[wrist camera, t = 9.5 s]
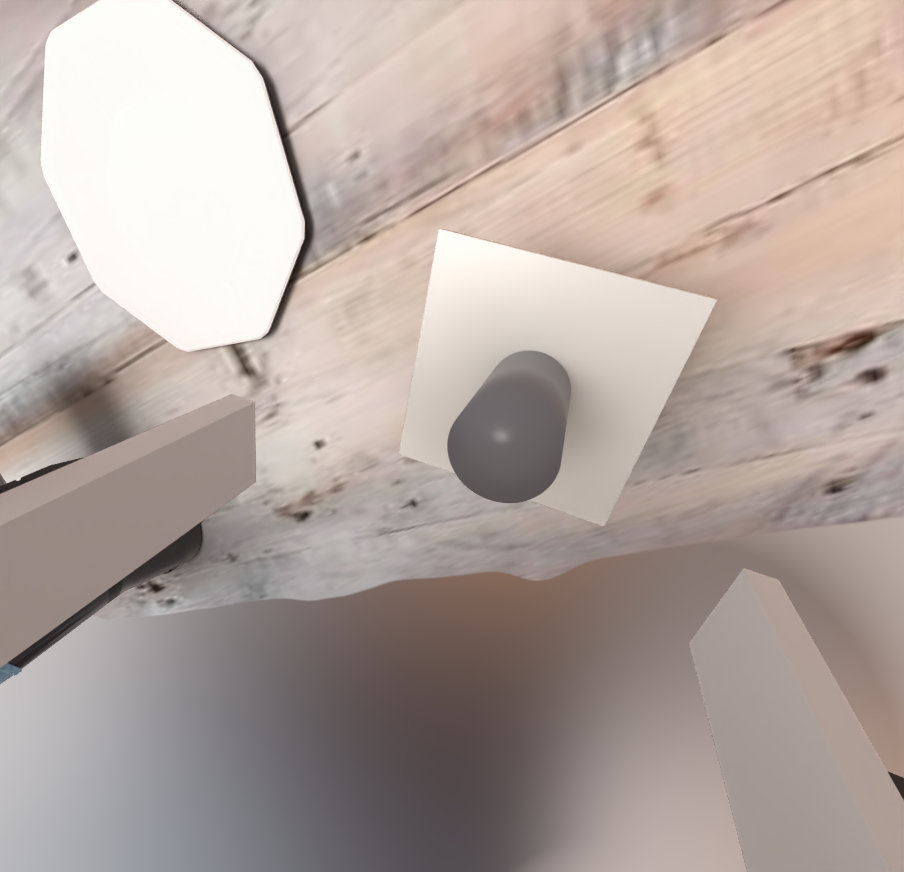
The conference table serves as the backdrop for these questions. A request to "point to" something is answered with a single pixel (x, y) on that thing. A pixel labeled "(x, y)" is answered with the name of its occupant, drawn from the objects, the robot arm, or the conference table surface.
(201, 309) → the plate
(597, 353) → the lid
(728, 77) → the conference table surface
